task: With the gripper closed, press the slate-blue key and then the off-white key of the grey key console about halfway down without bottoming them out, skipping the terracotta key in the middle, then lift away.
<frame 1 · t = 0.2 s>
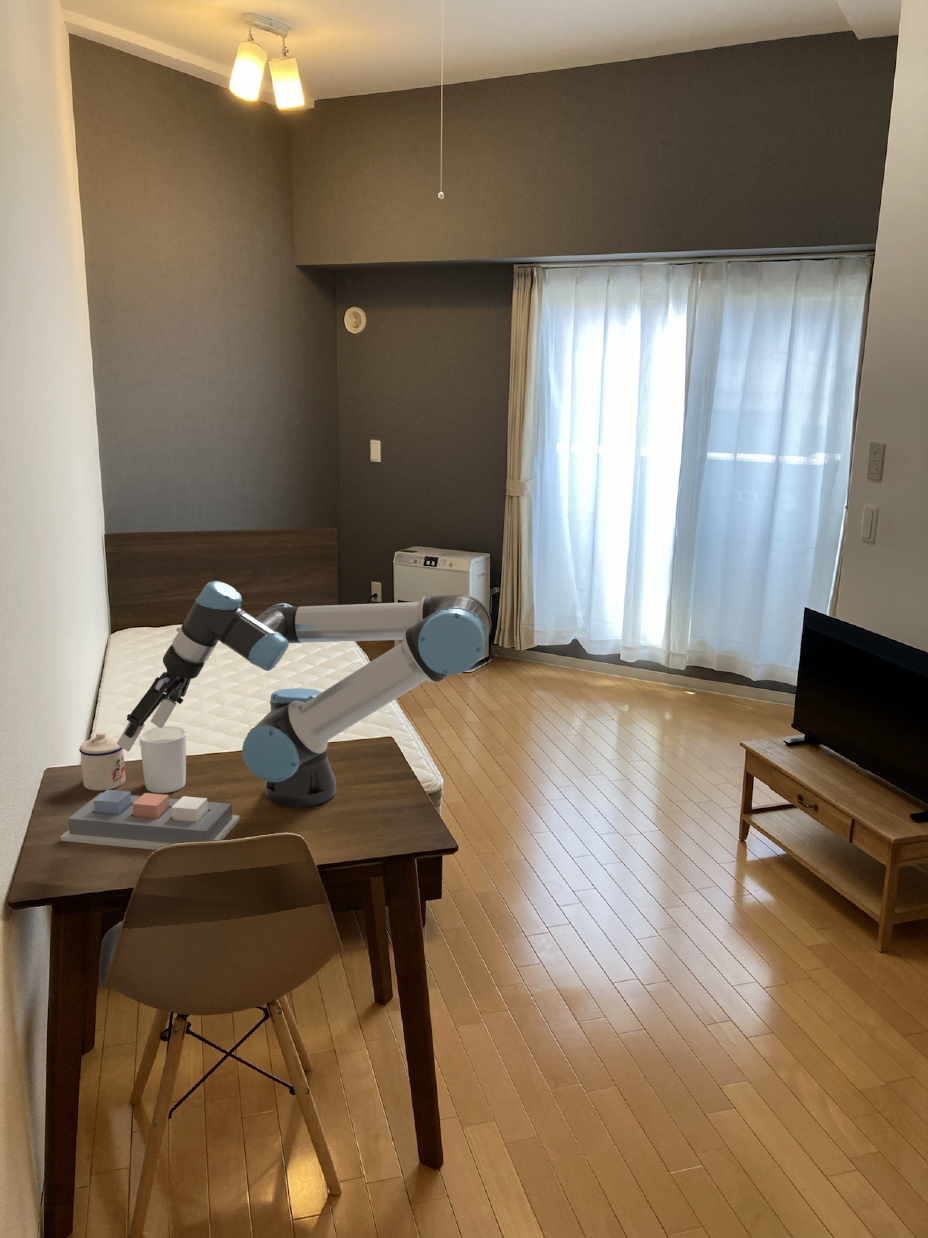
hand: (140, 735, 187), 16 cm above the table, tool tilted 30°, fingers open, 13 cm apart
teacup with lid: (106, 781, 205), on the table
white key: (190, 809, 180), point 5 cm above the table, slide at 0.0 cm
blue key: (113, 803, 183), point 5 cm above the table, slide at 0.0 cm
terracotta key: (151, 806, 181), point 5 cm above the table, slide at 0.0 cm
key console: (152, 829, 183), on the table
candle holder: (165, 786, 203), on the table
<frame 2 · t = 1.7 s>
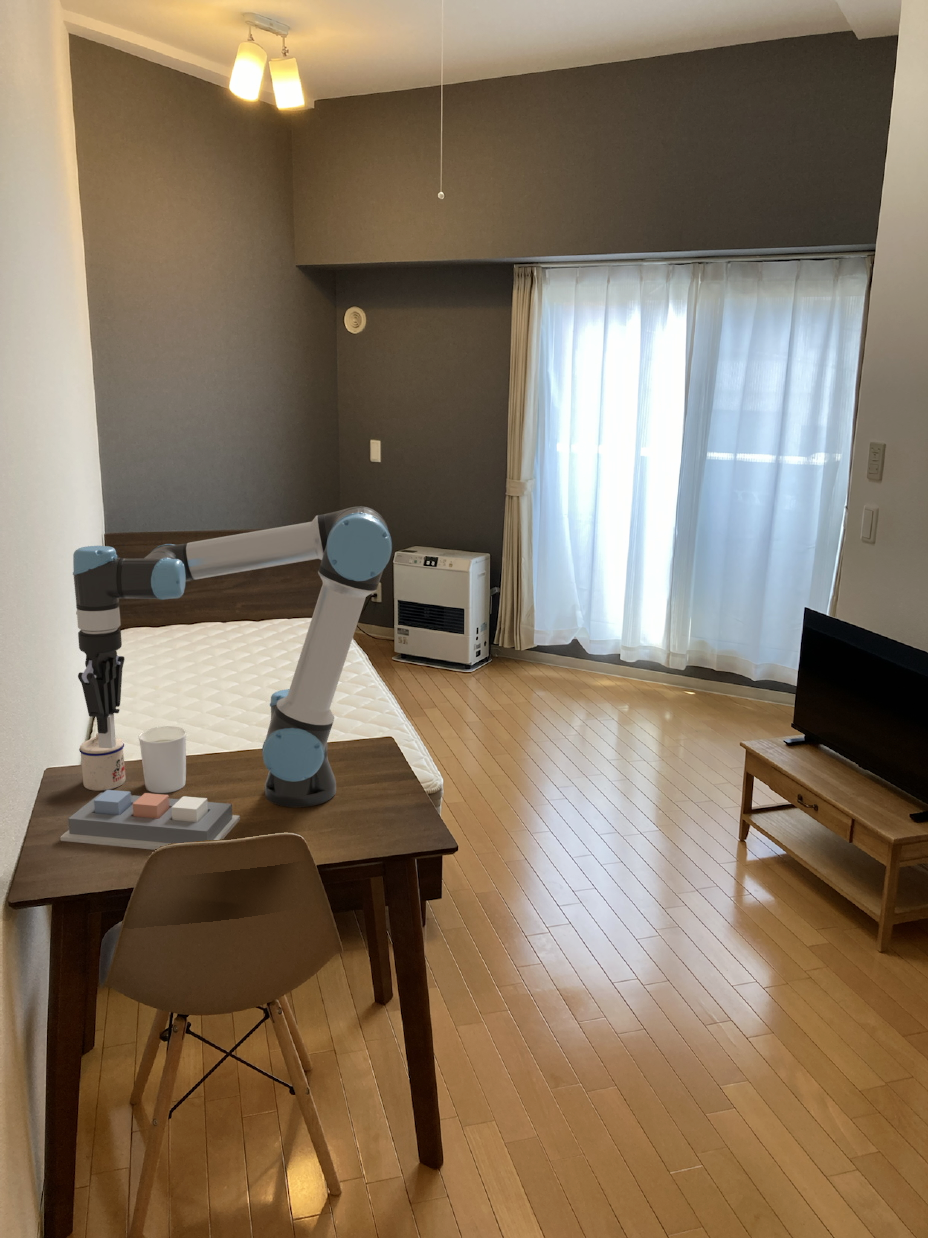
hand: (107, 746, 180), 17 cm above the table, tool pointing down, fingers closed
nothing on the table moved.
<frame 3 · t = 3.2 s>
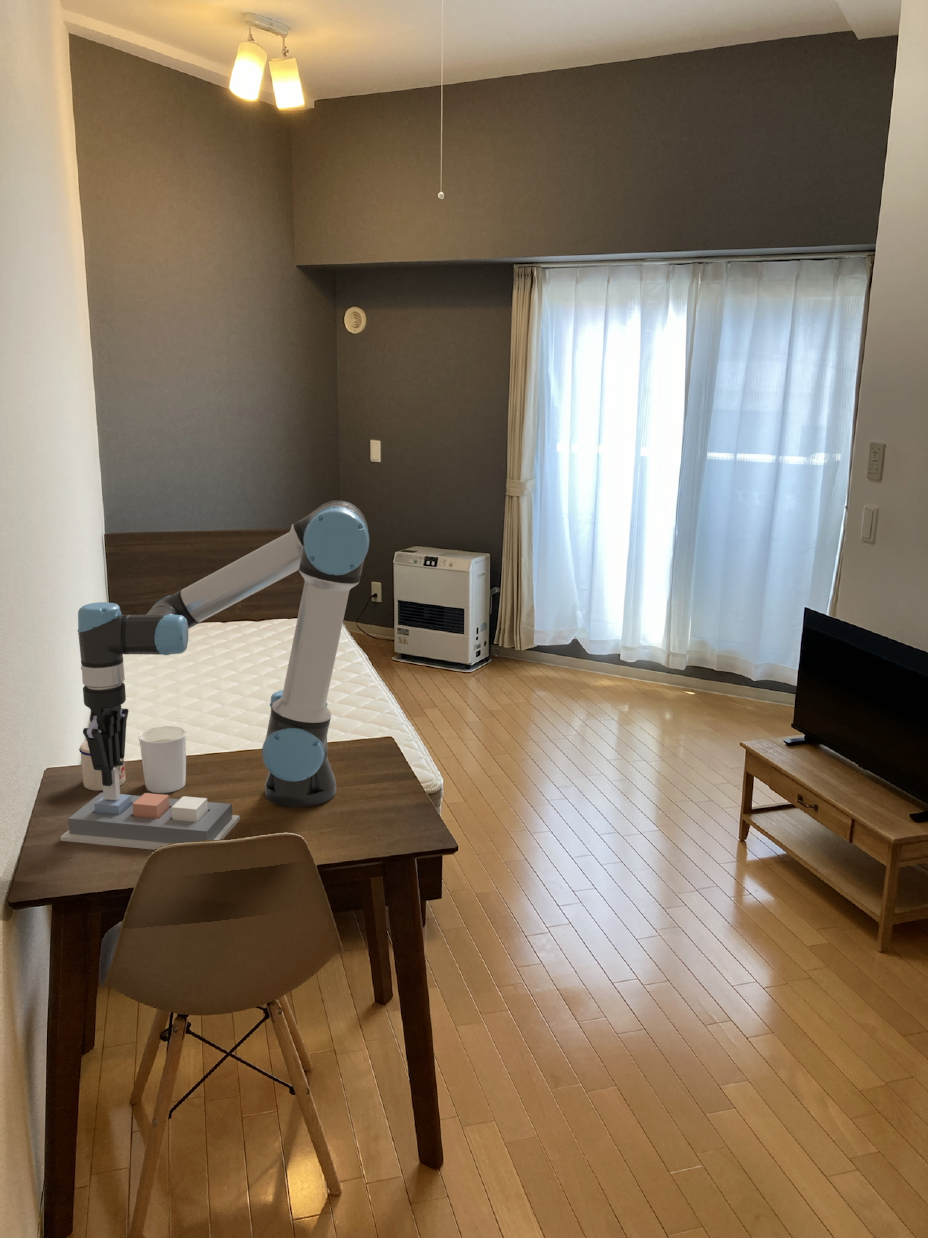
hand: (112, 798, 182), 6 cm above the table, tool pointing down, fingers closed
blue key: (113, 806, 183), point 4 cm above the table, slide at 0.7 cm, touching gripper
everything else where it was.
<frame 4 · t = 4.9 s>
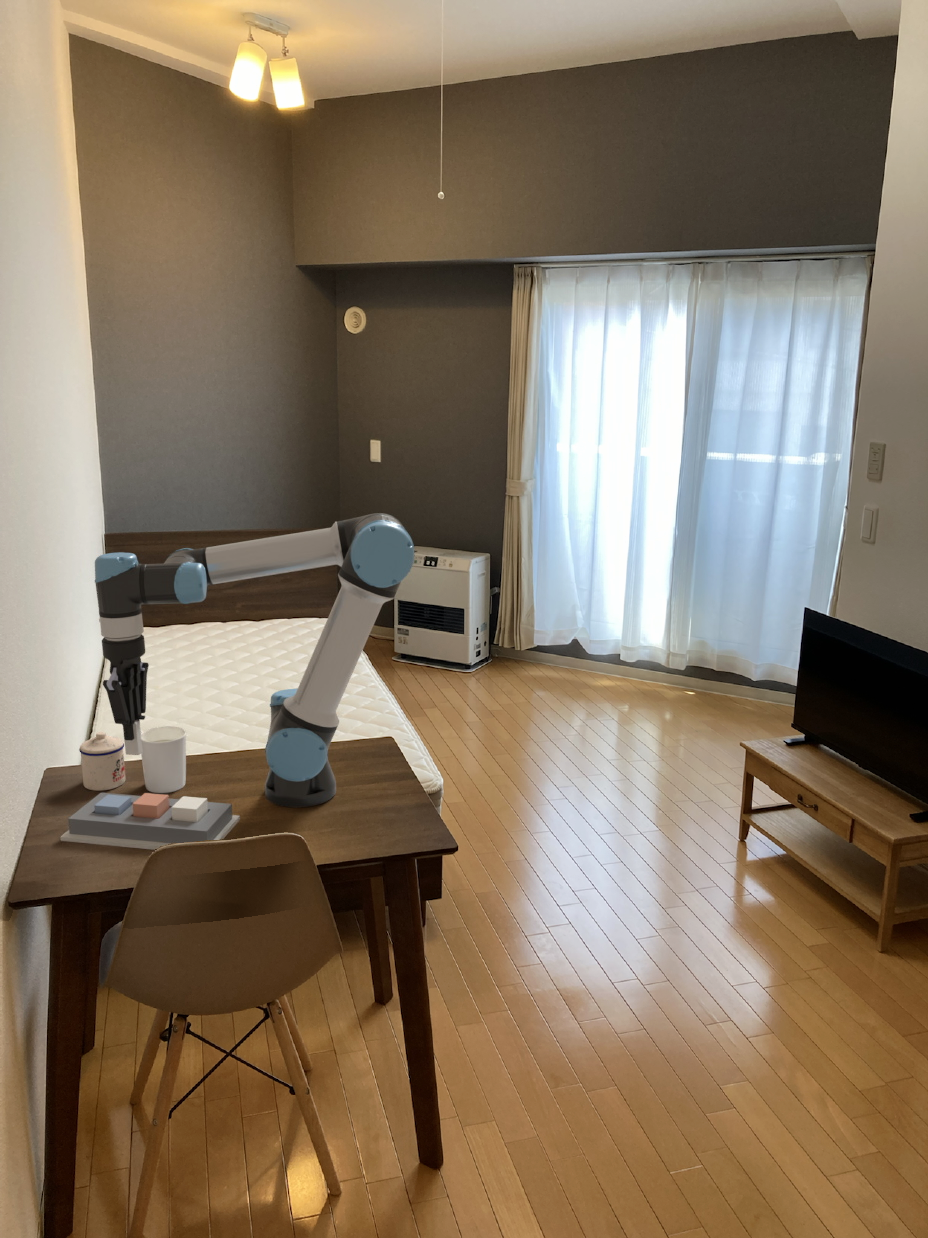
hand: (134, 753, 179), 16 cm above the table, tool pointing down, fingers closed
blue key: (113, 808, 183), point 4 cm above the table, slide at 1.1 cm
everything else where it was.
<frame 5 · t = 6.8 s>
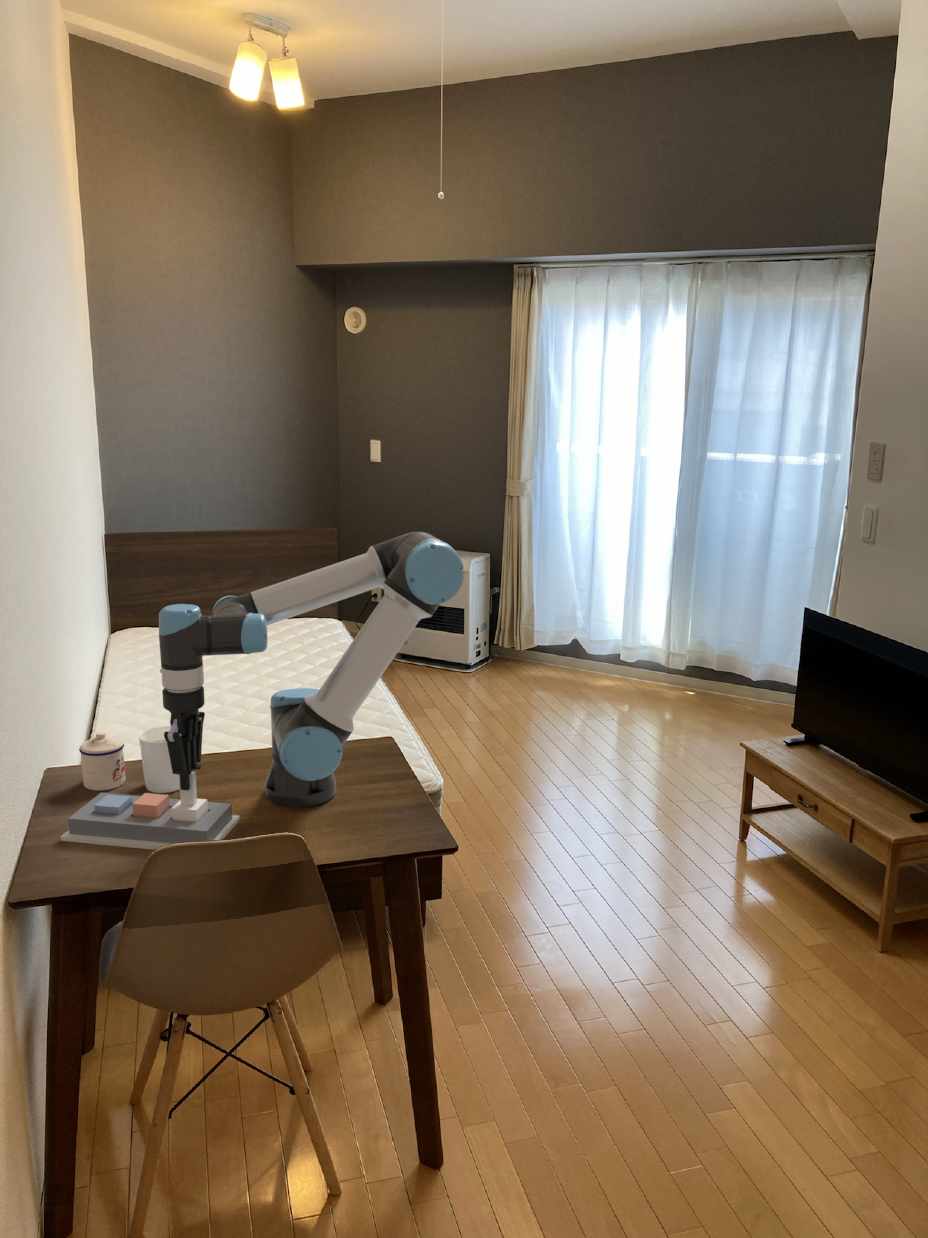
hand: (188, 802, 180), 7 cm above the table, tool pointing down, fingers closed
white key: (190, 810, 180), point 5 cm above the table, slide at 0.2 cm, touching gripper
everything else where it was.
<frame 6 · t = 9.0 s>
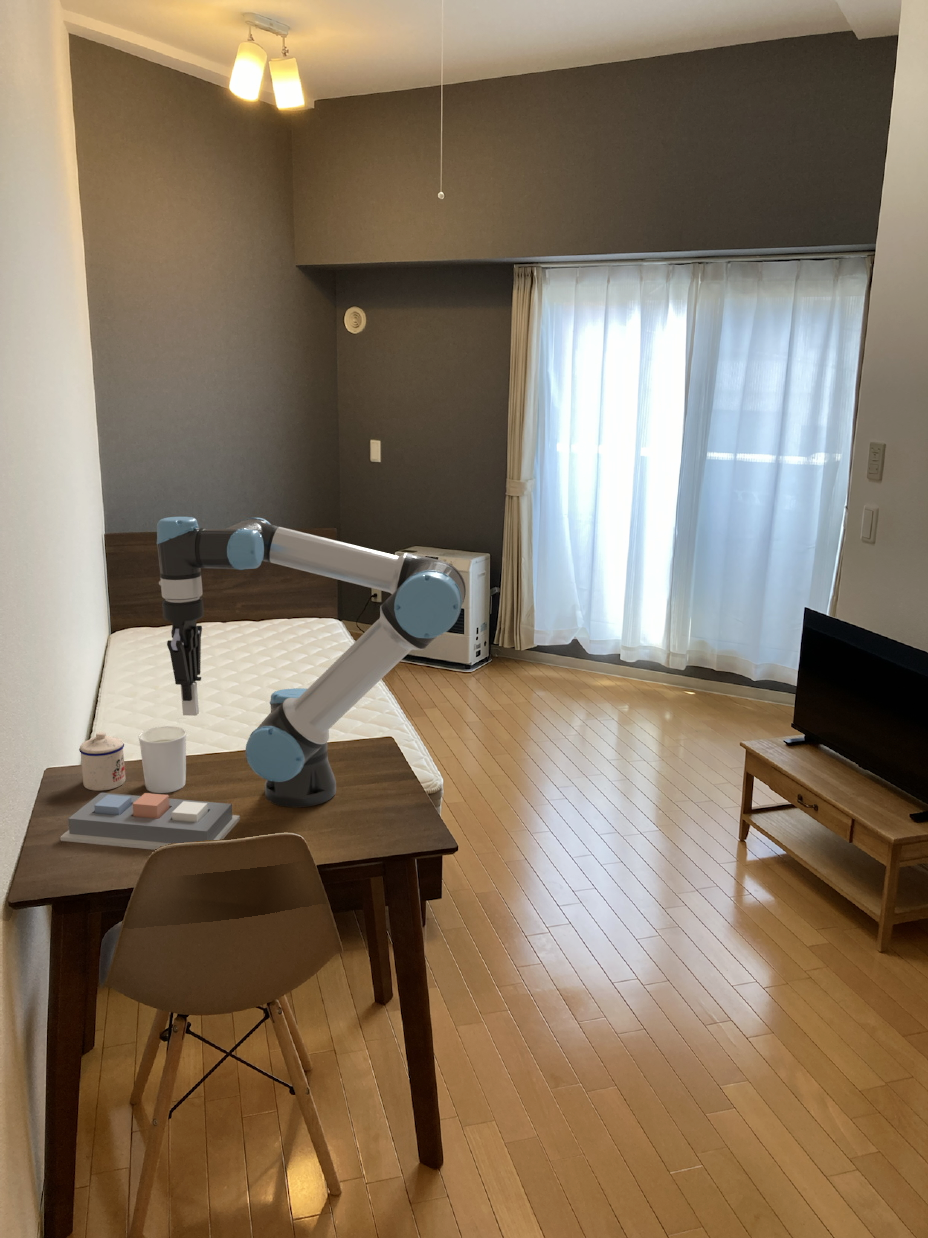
hand: (190, 714, 184), 22 cm above the table, tool pointing down, fingers closed
white key: (190, 814, 181), point 4 cm above the table, slide at 1.1 cm
everything else where it was.
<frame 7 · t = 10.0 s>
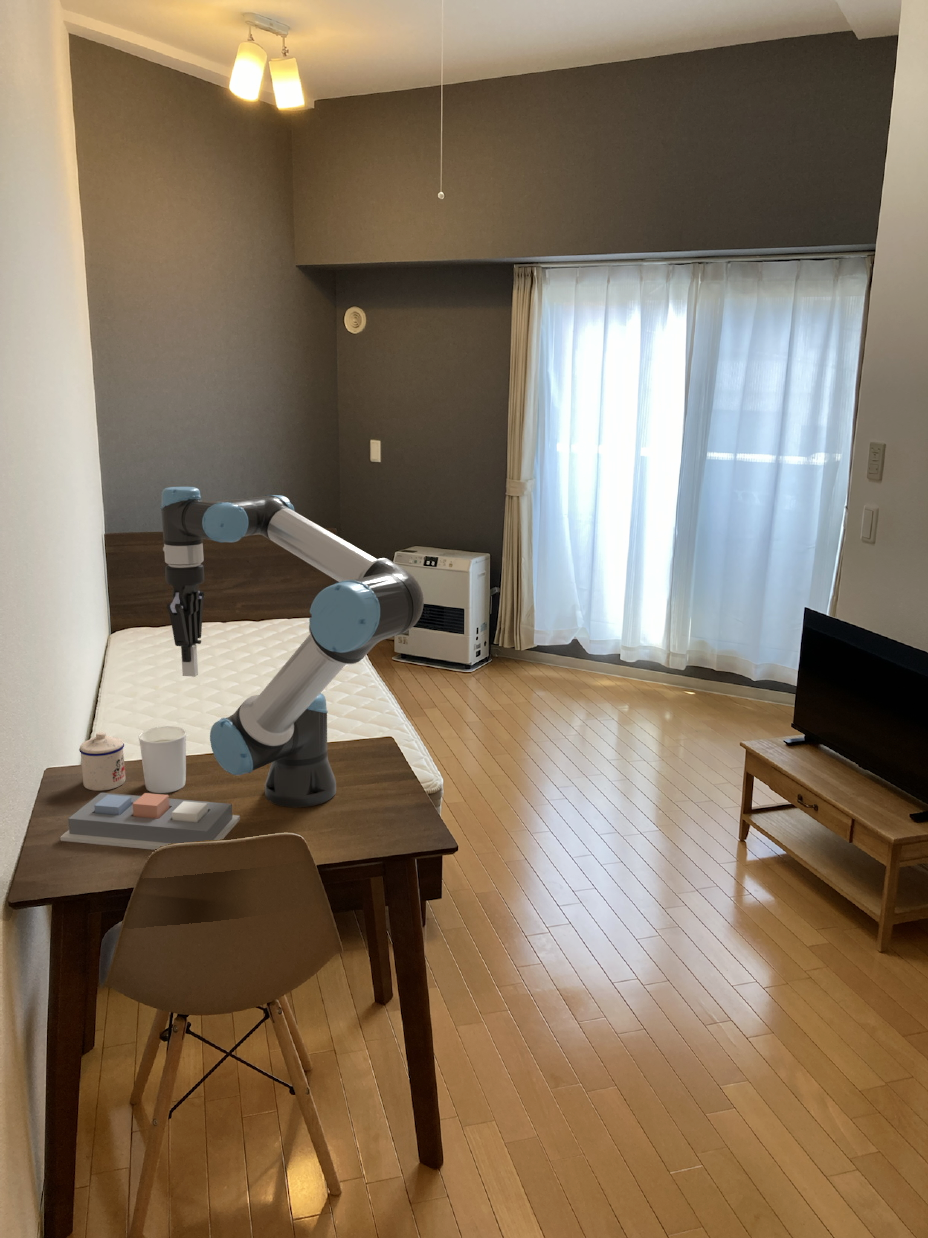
hand: (190, 675, 193), 26 cm above the table, tool pointing down, fingers closed
nothing on the table moved.
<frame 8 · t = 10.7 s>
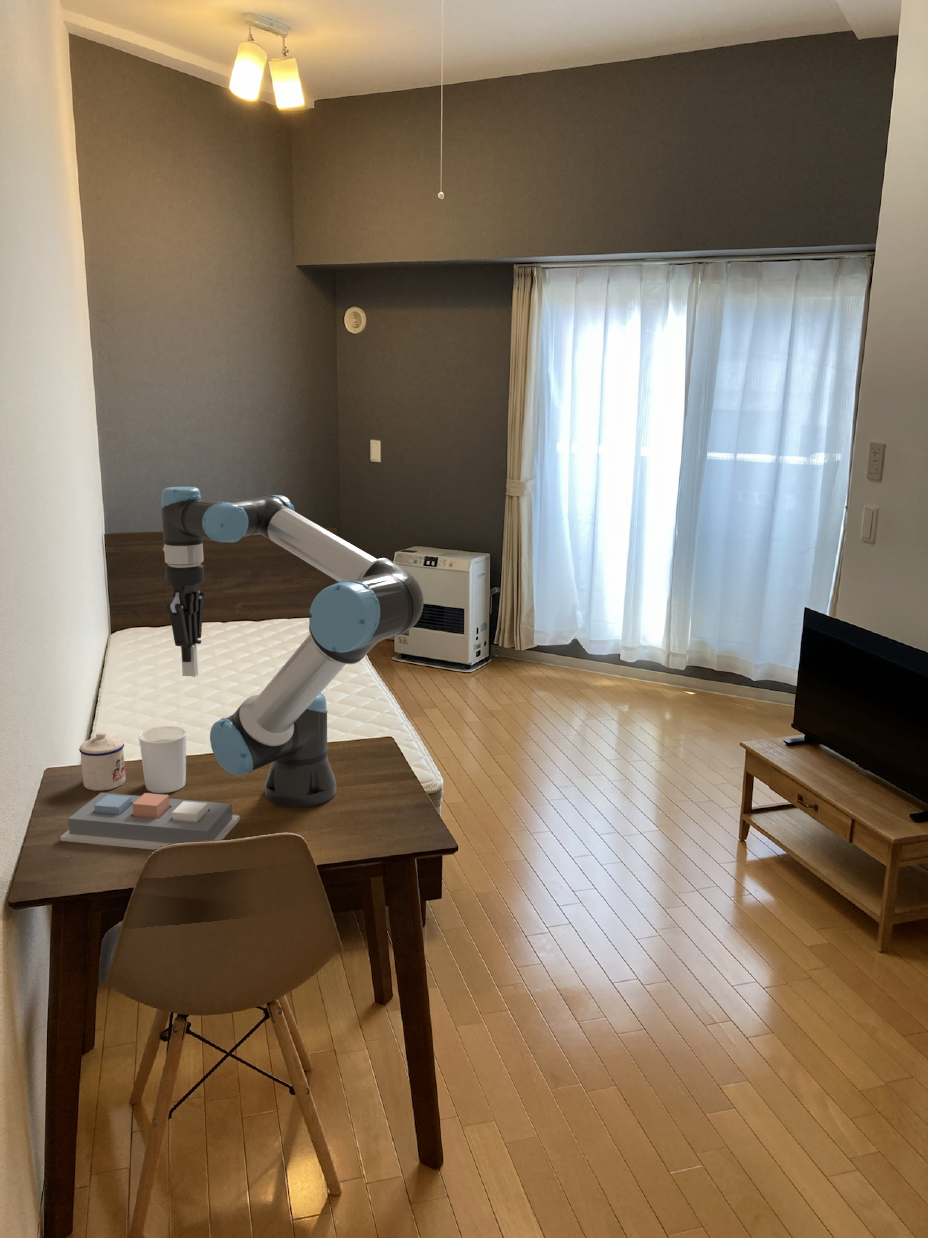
hand: (190, 675, 193), 26 cm above the table, tool pointing down, fingers closed
nothing on the table moved.
at the end: blue key slide at 1.1 cm; white key slide at 1.1 cm; terracotta key slide at 0.0 cm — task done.
